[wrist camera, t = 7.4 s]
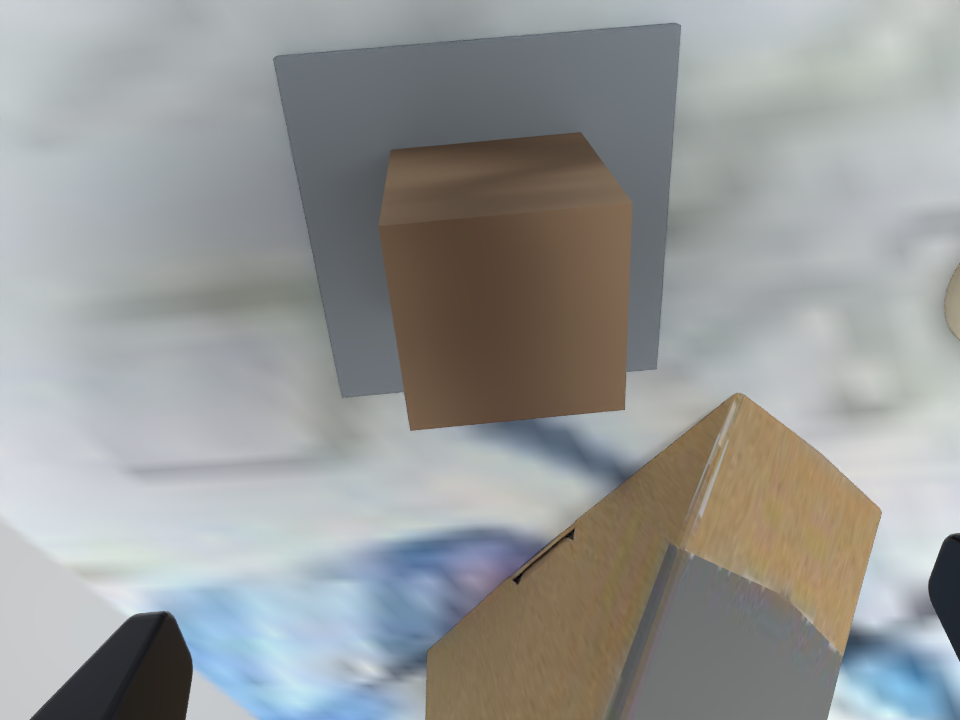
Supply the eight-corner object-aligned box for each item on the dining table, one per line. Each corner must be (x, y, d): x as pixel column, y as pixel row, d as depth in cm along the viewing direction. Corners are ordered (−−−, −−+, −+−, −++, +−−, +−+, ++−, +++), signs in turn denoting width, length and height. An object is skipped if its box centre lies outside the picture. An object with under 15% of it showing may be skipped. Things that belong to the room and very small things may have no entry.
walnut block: (580, 131, 17) (631, 202, 13) (581, 302, 19) (624, 409, 15) (391, 149, 17) (378, 226, 13) (414, 318, 19) (410, 430, 15)
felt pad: (675, 23, 16) (681, 24, 16) (653, 361, 21) (656, 369, 21) (276, 56, 16) (273, 59, 16) (343, 389, 21) (342, 397, 20)
